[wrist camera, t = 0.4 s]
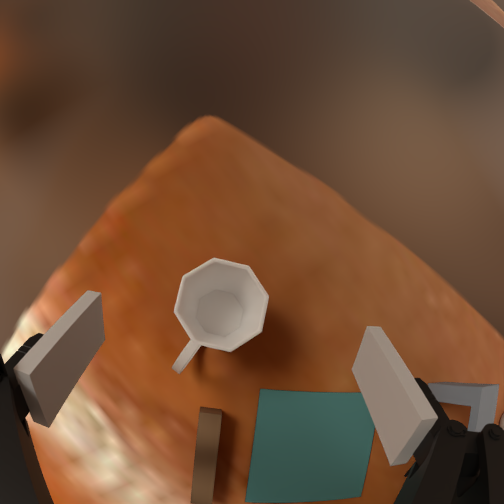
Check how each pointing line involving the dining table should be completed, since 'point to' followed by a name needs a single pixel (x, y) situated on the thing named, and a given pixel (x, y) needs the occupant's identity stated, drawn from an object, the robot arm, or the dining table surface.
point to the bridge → (470, 400)
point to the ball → (502, 422)
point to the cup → (219, 307)
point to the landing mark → (309, 447)
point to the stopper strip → (206, 455)
